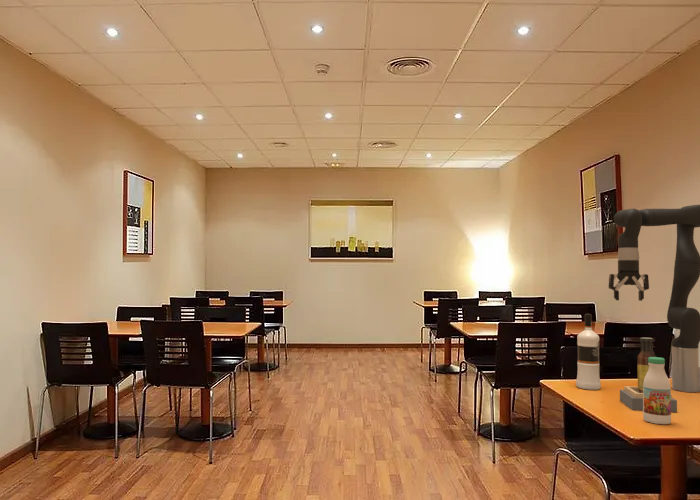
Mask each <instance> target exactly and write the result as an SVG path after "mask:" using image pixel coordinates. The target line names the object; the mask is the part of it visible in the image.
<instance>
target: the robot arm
mask: <svg viewBox="0 0 700 500" xmlns="http://www.w3.org/2000/svg"><path fill="white" fill-rule="evenodd" d="M613 221H614V224H615V225H616V226H617V227H620V228H624V231H623V232H622V233H620V234H619V235H618V237H617V238H618V240H617V243H618V244H617V245H618V246H617V247H618V250H617V251H618V252H617V274H614V273H609V275H608V289H609V290H612V291H613V299H615V301H619V300H620V291H619V290H620V289H621V287H623V286H634V287H636V288H637V290H638V301H640V302H641V301H643V300H644V298H645V291H647V290H650V283H649V280H650V279H649V274H647V273H644V274H640V253H639V252H640V251H639V235H640V233H641V229H642V227H661V226H669V225H676V249H675V258H674V267H673V280H672V286H671V294H670V299H669V304H668V308H667V313H666V320H667V324H668V326H670V327H671V329H675V330H679V335H678V336H677V337H676V338H673V339H672V340H671V381H672V382H671V388H672V389H671V390H675V391H678V392H685V393H699V392H700V366H699V365H700V364H699V361H700V360H699V346H700V345H699V344H700V312H699V311H698V310H697V309H696V308H693V307H688V300H689V296H690V293H691V291H692V290H693V289H694V288H695V286H696V284H697V283H698V281H699V279H700V253H699V251H698V248H697V247H696V244H695V240H694V239H695V238H694V233H695V228H700V204H692V205H687V206H682V207H681V208H642V209H637V208H628V209H621V210H618V211H617V212H616V213H615V214H614V216H613ZM616 278H617V279H618V282H617V283H616V285H615V284H614V283H615V280H616ZM640 279H641V280H642V284H643V286H642V284H641V283H640V281H639V280H640ZM614 285H615V286H614Z"/></svg>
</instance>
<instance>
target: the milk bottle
mask: <svg viewBox="0 0 700 500" xmlns="http://www.w3.org/2000/svg"><path fill="white" fill-rule="evenodd" d="M648 362H649V363H648V364H649V369H648V372H647V374H646V376H645V378H644V382H643V411H642V415H643V416H642V417H643V421H645V422H647V423H651V424H656V425H670V424H671V422H672V412H671V395H672V392H671V390H672V389H671V388H672V386H671V383H670V380H669V377H668V375H667V373H666V370H665V366H666V365H665V364H666V359H665V358H664V357H658V356H655V357H649V358H648Z"/></svg>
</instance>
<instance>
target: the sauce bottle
mask: <svg viewBox="0 0 700 500" xmlns="http://www.w3.org/2000/svg"><path fill="white" fill-rule="evenodd" d="M639 342H640V352H639V353H638V355H637V357H636V358H637V366H636V367H637V387H638V389H639V393H643V382H644V378H645V376H646V374H647V372H648V369H649V364H648V363H649V362H648V358H649V357H656V354H655V352H654V348H653V343H654V338H652V337H640V338H639Z"/></svg>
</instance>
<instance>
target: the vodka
mask: <svg viewBox="0 0 700 500" xmlns="http://www.w3.org/2000/svg"><path fill="white" fill-rule="evenodd" d="M592 319H593V318H592V314H591V313H585V314H584V330H582V331H581V332H579V333H578V334H577V335H576V336H577V337H576V338H577V339H576V340H577V341H576V345H577V362H576V364H577V372H576V373H577V375H576V381H575V385H576V387H577V388H578V389H582V390H587V391H588V390H589V391H597V390H599V389H601V388H602V383H601V380H600V379H601V378H600V377H601V376H600V336H599V334H597V333H596V332H595V331H594V330H593V328H592Z"/></svg>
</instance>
